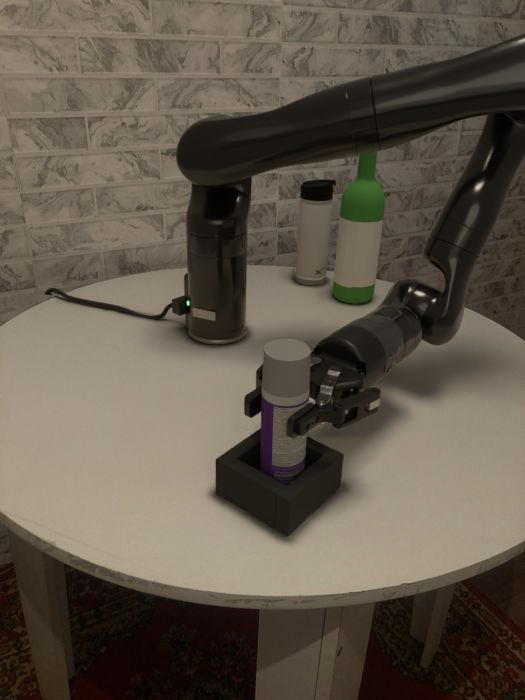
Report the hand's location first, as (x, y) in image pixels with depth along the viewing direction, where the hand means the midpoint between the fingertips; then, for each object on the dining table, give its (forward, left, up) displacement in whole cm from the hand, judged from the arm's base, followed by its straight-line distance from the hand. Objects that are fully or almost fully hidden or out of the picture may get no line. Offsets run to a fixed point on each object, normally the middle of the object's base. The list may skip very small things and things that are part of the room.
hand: (268, 418), depth 57 cm
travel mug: (-38, +54, -11) cm, 67 cm away
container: (0, +3, -9) cm, 9 cm away
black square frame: (0, +3, -11) cm, 11 cm away
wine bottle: (-27, +53, -11) cm, 60 cm away
